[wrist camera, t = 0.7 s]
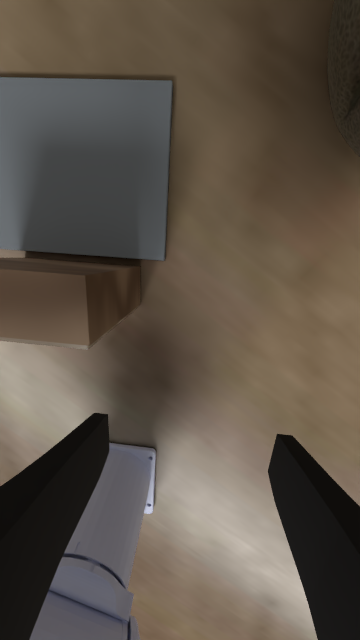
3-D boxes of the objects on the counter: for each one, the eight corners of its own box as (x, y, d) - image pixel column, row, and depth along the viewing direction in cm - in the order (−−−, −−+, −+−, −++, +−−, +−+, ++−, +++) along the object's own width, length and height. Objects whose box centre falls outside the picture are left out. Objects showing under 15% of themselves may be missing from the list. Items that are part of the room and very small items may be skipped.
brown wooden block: (140, 307, 18) (89, 351, 10) (31, 298, 19) (-107, 331, 10) (140, 266, 17) (85, 275, 9) (25, 257, 18) (-132, 258, 9)
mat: (165, 260, 17) (164, 260, 17) (1, 248, 18) (-5, 248, 17) (172, 86, 14) (171, 80, 13) (-27, 82, 15) (-35, 76, 14)
